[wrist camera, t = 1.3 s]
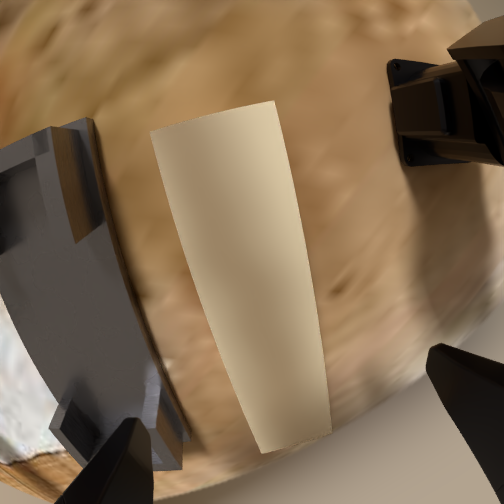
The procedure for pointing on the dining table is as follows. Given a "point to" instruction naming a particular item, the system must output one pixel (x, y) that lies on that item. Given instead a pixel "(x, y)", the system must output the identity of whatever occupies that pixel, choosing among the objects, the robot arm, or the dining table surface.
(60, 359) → the bracket
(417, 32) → the dining table surface
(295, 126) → the dining table surface
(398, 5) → the dining table surface
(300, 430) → the beige rectangular block
